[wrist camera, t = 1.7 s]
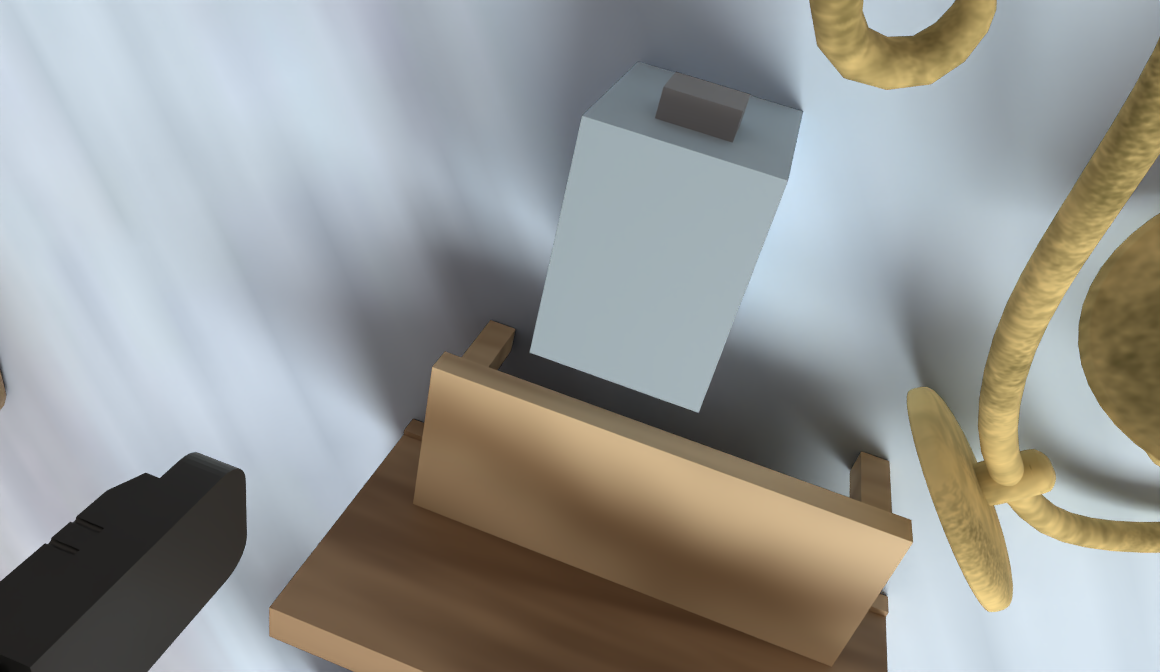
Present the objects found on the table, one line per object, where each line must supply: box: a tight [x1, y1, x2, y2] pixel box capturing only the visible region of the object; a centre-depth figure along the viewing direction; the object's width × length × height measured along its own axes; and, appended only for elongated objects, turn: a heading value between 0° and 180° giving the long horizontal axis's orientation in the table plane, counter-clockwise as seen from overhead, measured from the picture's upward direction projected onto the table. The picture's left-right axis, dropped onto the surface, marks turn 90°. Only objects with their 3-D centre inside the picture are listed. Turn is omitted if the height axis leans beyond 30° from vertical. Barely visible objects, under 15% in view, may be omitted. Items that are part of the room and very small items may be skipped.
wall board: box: [269, 320, 913, 672], centre depth 28 cm, size 11×20×10 cm, turn 77°
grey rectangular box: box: [530, 61, 803, 413], centre depth 23 cm, size 8×5×6 cm, turn 167°
